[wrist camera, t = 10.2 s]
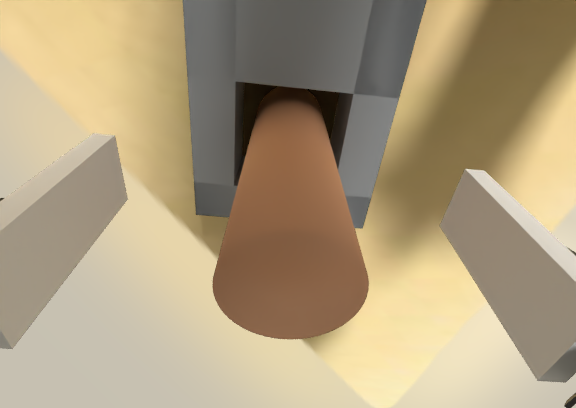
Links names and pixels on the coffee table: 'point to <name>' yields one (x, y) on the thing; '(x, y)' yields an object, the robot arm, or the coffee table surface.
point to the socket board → (295, 81)
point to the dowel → (290, 229)
